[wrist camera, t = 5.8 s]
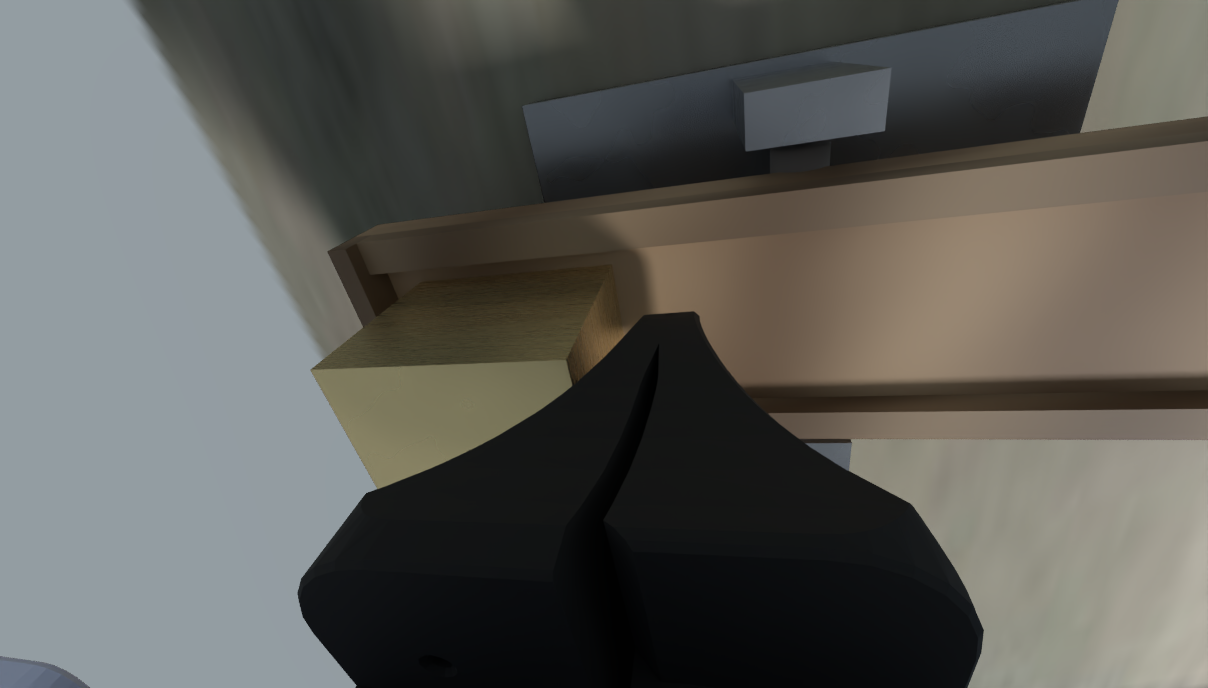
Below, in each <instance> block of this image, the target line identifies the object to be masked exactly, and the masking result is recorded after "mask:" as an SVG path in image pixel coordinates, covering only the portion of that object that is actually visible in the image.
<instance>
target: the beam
mask: <svg viewBox="0 0 1208 688" xmlns="http://www.w3.org/2000/svg"><path fill="white" fill-rule="evenodd" d="M830 152H831V142H830V141H828V140H821V141H814V142H807V143H801V144H794V145H787V146H780V147H774V148H771V149H770V174H763V175H755V176H748V177H740V178H732V179H725V180H717V181H709V182H702V183H694V184H686V185H679V186H671V187H663V188H656V189H648V190H640V191H633V192H625V193H617V194H610V195H602V196H594V197H587V198H579V199H571V200H564V201H556V202H548V203H541V204H533V205H525V206H518V207H510V208H502V209H495V210H487V211H479V212H472V213H464V214H456V215H449V216H441V217H433V218H426V219H418V220H410V221H403V222H395V223H387V224H380V225H377V226H375V227H373V228H371V229H369V230H367V231H365V232H363V233H361V234H360V235H358V236H356V237H354V238H352V239H350V240H348V241H346V242H344V243H343V244H341V245H339V246H337V247H335V248H333V249H331V250H329V251H327V252H328V254H329V256H330V258H331V260H332V262H333V265H334V267H335V269H336V271H337V273H338V275H339V277H340V279H341V281H342V283H343V286H344V288H345V290H346V292H347V294H348V296H349V298H350V300H351V302H352V304H353V307H354V309H355V311H356V313H357V315H358V317H359V319H360V321H361V323H362V325H363V328H364V327H365V326H366V325H367V324H369V323H370V322H371V321H372V320H374V319H375V318H376V317H377V316H379V315H380V314H381V313H382V312H384V311H385V310H386V309H387V308H389V307H390V306H391V305H392V304H394V303H395V302H396V301H397V300H399V299H400V298H401V297H402V296H404V295H405V294H406V293H407V292H409V291H410V290H411V289H412V288H414V287H415V286H416V285H417V284H419V283H420V282H423V281H434V280H445V279H456V278H467V277H478V276H489V275H500V274H512V273H523V272H534V271H545V270H556V269H567V268H578V267H589V266H601V265H612V268H613V274H614V280H615V286H616V291H617V297H618V303H619V309H620V315H621V320H622V326H623V332H624V336H625V335H626V334H627V332H628V331H629V330H630V329H631V328H632V327H633V326H634V325H635V324H636V323H637V322H638V320H639V319H640V318H641V317H642V316H643V315H649V314H663V313H677V312H691V311H694V312H695V313H697V314H698V315H699V316H700V323H701V326H702V328H703V331H704V333H705V335H706V337H707V339H708V341H709V343H710V344H711V346H712V348H713V349H714V351H715V352H716V354H717V355H718V357H719V358H720V360H721V361H722V363H723V364H724V366H725V367H726V368H727V370H728V371H729V372H730V374H731V375H732V376H733V377H734V379H735V380H736V381H737V382H738V383H739V385H740V386H741V387H742V388H743V389H744V390H745V391H746V392H747V394H748V395H749V396H750V397H751V398H752V399H753V400H754V401H755V402H756V403H757V404H758V405H759V406H760V407H761V408H762V409H763V410H765V411H766V412H767V413H768V414H769V415H770V416H771V417H772V418H773V419H775V420H776V421H777V422H778V423H779V424H780V425H782V426H783V427H784V428H786V429H787V430H788V431H790V432H791V433H792V434H793V435H795V436H796V437H797V438H799V439H1047V440H1208V117H1200V118H1193V119H1185V120H1177V121H1170V122H1162V123H1154V124H1147V125H1139V126H1131V127H1124V128H1116V129H1108V130H1101V131H1093V132H1085V133H1078V134H1070V135H1062V136H1054V137H1047V138H1039V139H1031V140H1024V141H1016V142H1008V143H1001V144H993V145H985V146H978V147H970V148H962V149H955V150H947V151H939V152H932V153H924V154H916V155H909V156H901V157H893V158H886V159H878V160H870V161H863V162H855V163H847V164H840V165H832V166H830Z"/></svg>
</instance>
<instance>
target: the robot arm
mask: <svg viewBox="0 0 1208 688" xmlns="http://www.w3.org/2000/svg"><path fill="white" fill-rule="evenodd" d="M298 599H299V603H300V607H301V611H302V615H303V618H304V619H305V621H306V622H307V624H308V626H309V627H310V629H311V630H312V632H313V633H314V634H315V636H316V637H317V638H318V639H319V641H320V642H321V643H322V644H323V645H324V647H325V648H326V649H327V650H328V651H329V653H330V654H331V655H332V656H333V657H334V659H335V660H336V661H337V662H338V663H339V664H340V666H341V667H342V668H343V670H344V671H345V672H346V673H347V674H348V676H349V677H350V678H351V679H352V680H353V681H354V683H355V684H356V685H357V686H356V688H967V687H968V685H969V682H970V680H971V677H972V675H973V672H974V670H975V667H976V664H977V662H978V659H979V657H980V654H981V650H982V641H983V632H984V630H983V627H982V625H981V623H980V620H979V618H978V616H977V614H976V611H975V608H974V606H973V603H972V601H971V599H970V597H969V594H968V592H967V590H966V588H965V586H964V584H963V583H962V581H961V579H960V577H959V575H958V573H957V572H956V570H955V568H954V567H953V565H952V564H951V562H950V560H949V559H948V557H947V556H946V554H945V553H944V551H943V550H942V548H941V547H940V545H939V543H938V542H937V540H936V539H935V537H934V536H933V534H932V533H931V532H930V530H929V529H928V527H927V526H926V524H925V523H924V521H923V520H922V518H921V517H920V515H919V514H918V513H917V511H916V510H915V508H914V507H913V506H912V505H911V504H910V503H908V502H906V501H904V500H902V499H901V498H899V497H897V496H895V495H893V494H891V493H889V492H887V491H885V490H884V489H882V488H880V487H878V486H876V485H874V484H872V483H870V482H868V481H867V480H865V479H863V478H861V477H859V476H857V475H855V474H853V473H851V472H850V471H848V470H846V469H844V468H843V467H841V466H839V465H838V464H836V463H834V462H833V461H831V460H830V459H828V458H827V457H825V456H823V455H822V454H820V453H819V452H817V451H816V450H814V449H812V448H811V447H809V446H808V445H807V444H805V443H804V442H803V441H801V440H800V439H799V438H797V437H796V436H795V435H793V434H792V433H791V432H790V431H788V430H787V429H786V428H784V427H783V426H782V425H780V424H779V423H778V422H777V421H776V420H775V419H773V418H772V417H771V416H770V415H769V414H768V413H767V412H766V411H765V410H763V409H762V408H761V407H760V406H759V405H758V404H757V403H756V402H755V401H754V400H753V399H752V398H751V397H750V396H749V395H748V394H747V392H746V391H745V390H744V389H743V388H742V387H741V386H740V385H739V383H738V382H737V381H736V380H735V379H734V377H733V376H732V375H731V374H730V372H729V371H728V370H727V368H726V367H725V366H724V364H723V363H722V361H721V360H720V358H719V357H718V355H717V354H716V352H715V351H714V349H713V348H712V346H711V344H710V343H709V341H708V339H707V337H706V335H705V333H704V331H703V328H702V326H701V323H700V316H699V315H698V314H697V313H695V312H694V311H691V312H677V313H663V314H649V315H643V316H642V317H641V318H640V319H639V320H638V322H637V323H636V324H635V325H634V326H633V327H632V328H631V329H630V330H629V331H628V332H627V334H626V335H625V336H624V337H623V338H622V339H621V340H620V341H619V342H618V343H617V344H616V345H615V347H614V348H613V349H612V350H611V351H610V352H609V353H608V354H607V355H606V356H605V357H604V358H603V359H602V360H601V361H600V362H598V363H597V364H596V365H595V366H594V367H593V368H592V369H591V370H590V371H589V372H587V373H586V374H585V375H584V376H583V377H582V378H581V379H580V380H579V381H578V382H576V383H575V384H574V385H573V386H572V387H570V388H569V389H568V390H567V391H565V392H564V393H563V394H561V395H560V396H559V397H557V398H556V399H555V400H553V401H552V402H550V403H549V404H548V405H546V406H545V407H544V408H542V409H541V410H539V411H538V412H536V413H535V414H533V415H531V416H530V417H528V418H526V419H525V420H523V421H521V422H520V423H518V424H516V425H515V426H513V427H511V428H510V429H508V430H506V431H505V432H503V433H501V434H500V435H498V436H496V437H494V438H493V439H491V440H489V441H487V442H485V443H483V444H481V445H479V446H477V447H475V448H473V449H471V450H469V451H467V452H465V453H463V454H461V455H459V456H457V457H455V458H452V459H450V460H448V461H446V462H444V463H442V464H439V465H437V466H435V467H432V468H430V469H428V470H425V471H423V472H420V473H417V474H415V475H412V476H410V477H407V478H405V479H402V480H400V481H397V482H395V483H392V484H390V485H387V486H385V487H382V488H379V489H377V490H374V491H371V492H368V493H366V494H365V495H364V497H363V498H362V500H361V501H360V502H359V503H358V505H357V506H356V507H355V509H354V510H353V511H352V513H351V514H350V515H349V516H348V518H347V519H346V521H345V522H344V523H343V524H342V526H341V527H340V529H339V530H338V531H337V532H336V534H335V535H334V536H333V538H332V539H331V540H330V542H329V543H328V544H327V546H326V547H325V548H324V549H323V551H322V552H321V553H320V555H319V556H318V558H317V559H316V560H315V561H314V563H313V564H312V565H311V567H310V568H309V569H308V571H307V572H306V573H305V575H304V576H303V577H302V578H301V582H300V586H299V590H298ZM0 688H90V687H89V686H87V685H86V684H85V683H84V682H82V681H81V680H80V679H78V678H77V677H75V676H74V675H72V674H71V673H69V672H67V671H66V670H64V669H61V668H59V667H57V666H55V665H51V664H48V663H44V662H37V661H30V660H23V659H16V658H9V657H2V656H0Z"/></svg>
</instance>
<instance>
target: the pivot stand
mask: <svg viewBox="0 0 1208 688" xmlns="http://www.w3.org/2000/svg"><path fill="white" fill-rule="evenodd" d="M1118 1H1119V0H1073V1H1068V2H1062V3H1057V4H1052V5H1046V6H1041V7H1036V8H1031V9H1025V10H1020V11H1015V12H1010V13H1004V14H999V15H994V16H988V17H983V18H978V19H973V20H967V21H962V22H957V23H951V24H946V25H941V26H936V27H930V28H925V29H920V30H915V31H909V32H904V33H899V34H893V35H888V36H883V37H878V38H872V39H867V40H862V41H856V42H851V43H846V44H841V45H835V46H830V47H825V48H820V49H814V50H809V51H804V52H798V53H793V54H788V55H783V56H777V57H772V58H767V59H761V60H756V61H751V62H746V63H740V64H735V65H730V66H725V67H719V68H714V69H709V70H703V71H698V72H693V73H688V74H682V75H677V76H672V77H666V78H661V79H656V80H651V81H645V82H640V83H635V84H630V85H624V86H619V87H614V88H608V89H603V90H598V91H593V92H587V93H582V94H577V95H571V96H566V97H561V98H556V99H550V100H545V101H540V102H535V103H530V104H527V105H523V106H522V108H523V112H524V116H525V121H526V125H527V129H528V134H529V138H530V142H531V147H532V151H533V155H534V160H535V164H536V168H537V172H538V177H539V181H540V185H541V190H542V194H543V198H544V203H548V202H556V201H564V200H571V199H579V198H587V197H594V196H602V195H610V194H617V193H625V192H633V191H640V190H648V189H656V188H663V187H671V186H679V185H686V184H694V183H702V182H709V181H717V180H725V179H732V178H740V177H748V176H755V175H763V174H770V149H771V148H774V147H780V146H787V145H794V144H801V143H807V142H814V141H821V140H828V141H830V142H831V152H830V166H832V165H840V164H847V163H855V162H863V161H870V160H878V159H886V158H893V157H901V156H909V155H916V154H924V153H932V152H939V151H947V150H955V149H962V148H970V147H978V146H985V145H993V144H1001V143H1008V142H1016V141H1024V140H1031V139H1039V138H1047V137H1054V136H1062V135H1070V134H1078V133H1080V131H1081V127H1082V124H1083V121H1084V117H1085V114H1086V110H1087V107H1088V103H1089V100H1090V97H1091V93H1092V90H1093V86H1094V83H1095V79H1096V76H1097V73H1098V69H1099V66H1100V62H1101V59H1102V55H1103V52H1104V49H1105V45H1106V42H1107V38H1108V35H1109V31H1110V28H1111V25H1112V21H1113V18H1114V14H1115V11H1116V7H1117V4H1118ZM800 440H801V441H803V442H804V443H805V444H807V445H808V446H809V447H811V448H812V449H814V450H816V451H817V452H819V453H820V454H822V455H823V456H825V457H827V458H828V459H830V460H831V461H833V462H834V463H836V464H838V465H839V466H841V467H843V468H844V469H846V470H848V471H849V464H850V454H851V445H852V442H851V440H850V439H800Z"/></svg>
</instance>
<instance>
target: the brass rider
mask: <svg viewBox="0 0 1208 688" xmlns="http://www.w3.org/2000/svg"><path fill="white" fill-rule="evenodd" d="M623 337H624V332H623V326H622V320H621V315H620V309H619V303H618V297H617V291H616V286H615V280H614V274H613V268H612V265H601V266H589V267H578V268H567V269H556V270H545V271H534V272H523V273H512V274H500V275H489V276H478V277H467V278H456V279H445V280H434V281H423V282H420V283H419V284H417V285H416V286H415V287H414V288H412V289H411V290H410V291H409V292H407V293H406V294H405V295H404V296H402V297H401V298H400V299H399V300H397V301H396V302H395V303H394V304H392V305H391V306H390V307H389V308H387V309H386V310H385V311H384V312H382V313H381V314H380V315H379V316H377V317H376V318H375V319H374V320H372V321H371V322H370V323H369V324H367V325H366V326H365V327H364V328H362V329H361V330H360V331H358V332H357V333H356V334H355V335H353V336H352V337H351V338H350V339H348V340H347V341H346V342H345V343H343V344H342V345H341V346H340V347H338V348H337V349H336V350H335V351H333V352H332V353H331V354H330V355H328V356H327V357H326V358H325V359H323V360H322V361H321V362H320V363H318V364H317V365H316V366H315V367H313V368H312V369H311V372H312V374H313V375H314V377H315V379H316V381H317V382H318V384H319V386H320V388H321V390H322V391H323V393H324V395H325V397H326V399H327V400H328V402H329V404H330V405H331V407H332V409H333V411H334V413H335V415H336V416H337V418H338V420H339V422H340V423H341V425H342V427H343V429H344V430H345V432H346V434H347V436H348V438H349V439H350V441H351V443H352V445H353V446H354V448H355V450H356V452H357V454H358V455H359V457H360V459H361V461H362V462H363V464H364V466H365V468H366V469H367V471H368V473H369V475H370V476H371V478H372V480H373V482H374V483H375V485H376V487H377V489H379V488H382V487H385V486H387V485H390V484H392V483H395V482H397V481H400V480H402V479H405V478H407V477H410V476H412V475H415V474H417V473H420V472H423V471H425V470H428V469H430V468H432V467H435V466H437V465H439V464H442V463H444V462H446V461H448V460H450V459H452V458H455V457H457V456H459V455H461V454H463V453H465V452H467V451H469V450H471V449H473V448H475V447H477V446H479V445H481V444H483V443H485V442H487V441H489V440H491V439H493V438H494V437H496V436H498V435H500V434H501V433H503V432H505V431H506V430H508V429H510V428H511V427H513V426H515V425H516V424H518V423H520V422H521V421H523V420H525V419H526V418H528V417H530V416H531V415H533V414H535V413H536V412H538V411H539V410H541V409H542V408H544V407H545V406H546V405H548V404H549V403H550V402H552V401H553V400H555V399H556V398H557V397H559V396H560V395H561V394H563V393H564V392H565V391H567V390H568V389H569V388H570V387H572V386H573V385H574V384H575V383H576V382H578V381H579V380H580V379H581V378H582V377H583V376H584V375H585V374H586V373H587V372H589V371H590V370H591V369H592V368H593V367H594V366H595V365H596V364H597V363H598V362H600V361H601V360H602V359H603V358H604V357H605V356H606V355H607V354H608V353H609V352H610V351H611V350H612V349H613V348H614V347H615V345H616V344H617V343H618V342H619V341H620V340H621V339H622V338H623Z"/></svg>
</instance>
